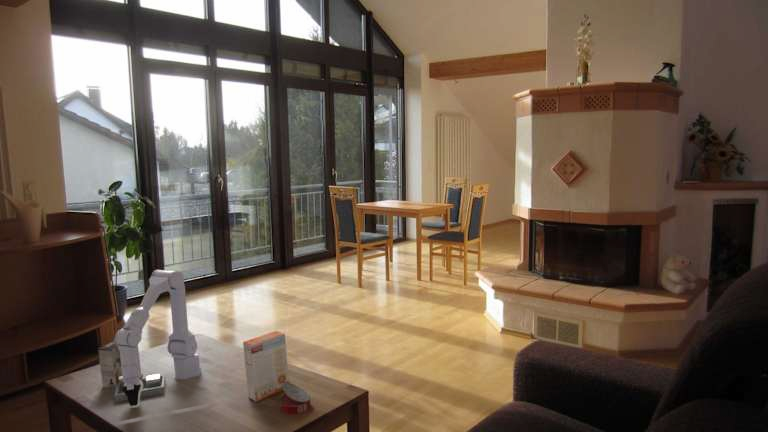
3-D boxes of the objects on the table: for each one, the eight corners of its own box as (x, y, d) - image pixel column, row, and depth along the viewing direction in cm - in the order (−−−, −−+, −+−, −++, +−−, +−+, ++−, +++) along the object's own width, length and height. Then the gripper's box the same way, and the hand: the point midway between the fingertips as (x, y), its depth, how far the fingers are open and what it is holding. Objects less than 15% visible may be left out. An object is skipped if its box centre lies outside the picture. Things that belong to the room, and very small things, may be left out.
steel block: (161, 384, 195) (160, 373, 194) (160, 390, 191) (159, 378, 190) (148, 387, 193) (146, 375, 193) (147, 392, 189) (146, 380, 188)
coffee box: (119, 378, 204) (114, 339, 202) (133, 379, 203) (129, 339, 201) (102, 389, 195) (97, 348, 193) (117, 390, 194) (112, 349, 192)
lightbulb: (126, 415, 176) (122, 384, 174) (125, 407, 181) (122, 377, 179) (146, 410, 178) (142, 379, 177) (144, 402, 184) (141, 373, 182)
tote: (165, 383, 198) (164, 374, 198) (164, 395, 188) (163, 386, 188) (119, 391, 193) (118, 382, 192) (115, 405, 183) (114, 395, 182)
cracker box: (280, 383, 194) (276, 329, 191) (289, 388, 190) (286, 333, 187) (246, 397, 185) (242, 340, 182) (255, 403, 180) (251, 345, 177)
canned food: (294, 412, 182) (300, 383, 185) (313, 418, 176) (320, 387, 179) (269, 410, 174) (276, 379, 177) (288, 415, 168) (295, 383, 171)
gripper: (120, 357, 183) (124, 394, 185) (114, 373, 169) (119, 413, 171) (142, 353, 185) (146, 390, 187) (138, 369, 172) (143, 408, 173)
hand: (134, 400), depth 179 cm, fingers closed on lightbulb, 6 cm apart
